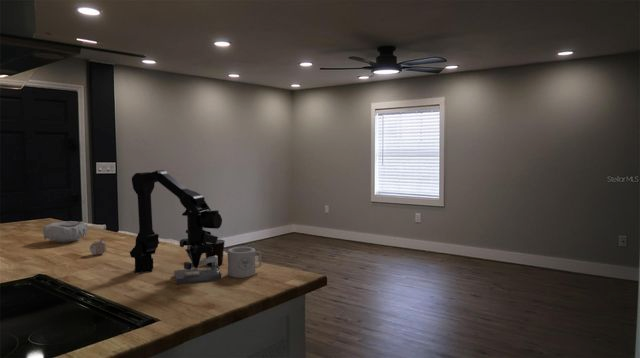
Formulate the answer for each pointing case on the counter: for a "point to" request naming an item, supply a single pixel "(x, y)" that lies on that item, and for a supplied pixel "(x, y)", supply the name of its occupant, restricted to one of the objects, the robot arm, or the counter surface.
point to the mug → (242, 262)
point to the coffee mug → (216, 251)
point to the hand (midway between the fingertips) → (196, 267)
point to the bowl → (65, 231)
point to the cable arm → (203, 262)
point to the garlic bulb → (98, 247)
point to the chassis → (197, 275)
